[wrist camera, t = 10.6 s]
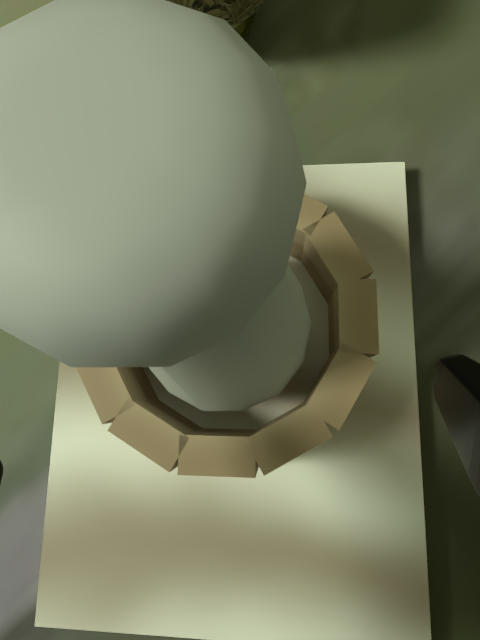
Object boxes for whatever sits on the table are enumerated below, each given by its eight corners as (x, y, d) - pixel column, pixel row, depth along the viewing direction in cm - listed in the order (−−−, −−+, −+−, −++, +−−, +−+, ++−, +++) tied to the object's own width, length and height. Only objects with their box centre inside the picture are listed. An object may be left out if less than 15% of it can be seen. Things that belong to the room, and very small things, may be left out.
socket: (424, 642, 15) (472, 725, 11) (46, 615, 16) (-24, 680, 12) (399, 172, 18) (429, 113, 14) (85, 182, 19) (39, 131, 16)
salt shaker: (242, 441, 16) (82, 624, 3) (132, 347, 17) (-322, 197, 4) (337, 321, 16) (535, 51, 4) (224, 237, 17) (66, -200, 5)
